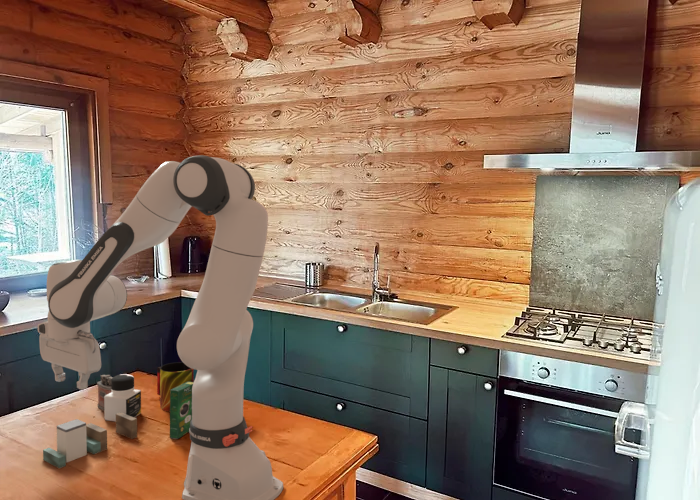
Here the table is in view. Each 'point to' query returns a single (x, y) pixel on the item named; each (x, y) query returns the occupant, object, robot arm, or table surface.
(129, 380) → the medicine bottle
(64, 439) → the grey rectangular block
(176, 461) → the table surface
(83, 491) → the table surface
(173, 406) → the coffee box
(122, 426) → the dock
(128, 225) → the robot arm
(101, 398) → the lighter
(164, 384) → the mug
